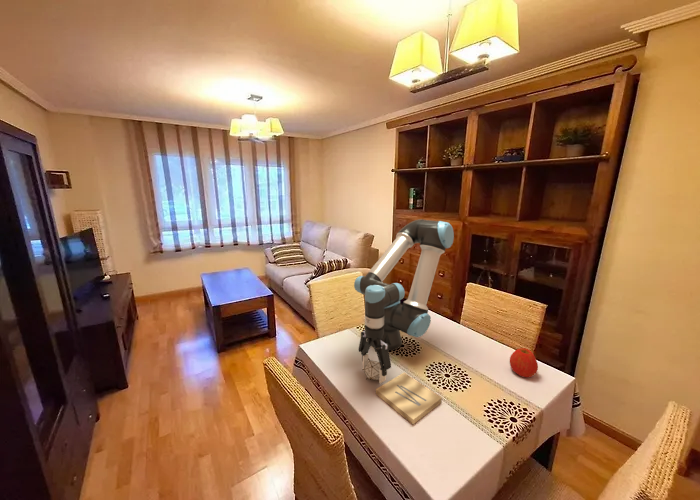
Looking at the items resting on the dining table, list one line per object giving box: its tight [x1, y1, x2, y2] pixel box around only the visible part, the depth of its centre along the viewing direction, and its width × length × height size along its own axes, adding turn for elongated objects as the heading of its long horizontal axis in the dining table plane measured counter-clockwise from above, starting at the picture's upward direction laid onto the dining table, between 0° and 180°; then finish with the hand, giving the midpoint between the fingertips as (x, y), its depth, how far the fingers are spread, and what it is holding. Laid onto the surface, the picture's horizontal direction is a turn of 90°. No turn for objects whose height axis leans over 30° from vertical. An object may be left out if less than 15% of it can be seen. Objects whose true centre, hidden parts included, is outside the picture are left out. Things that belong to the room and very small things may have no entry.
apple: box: [509, 347, 539, 378], centre depth 118 cm, size 10×10×10 cm
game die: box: [361, 358, 381, 383], centre depth 114 cm, size 9×8×10 cm
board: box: [375, 372, 443, 425], centre depth 105 cm, size 18×16×2 cm
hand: (373, 374), depth 115 cm, fingers closed on game die, 9 cm apart
